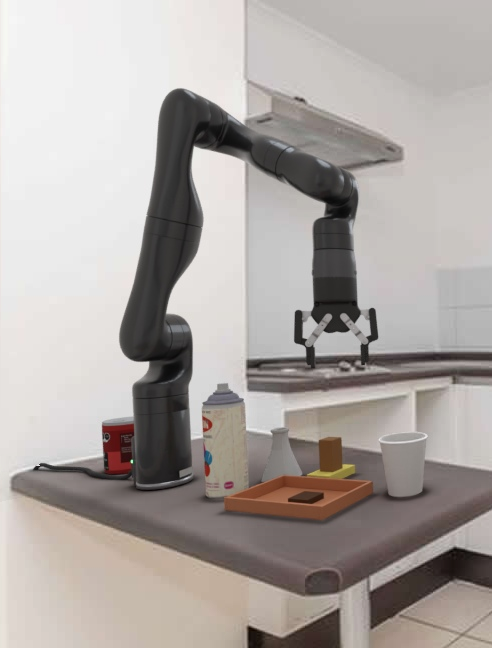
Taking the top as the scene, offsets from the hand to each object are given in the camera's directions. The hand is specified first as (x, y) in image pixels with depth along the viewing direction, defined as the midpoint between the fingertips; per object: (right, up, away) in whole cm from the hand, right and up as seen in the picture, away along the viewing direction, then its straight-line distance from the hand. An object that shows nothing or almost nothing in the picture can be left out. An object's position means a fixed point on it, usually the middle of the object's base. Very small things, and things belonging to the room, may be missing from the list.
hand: (338, 366), depth 99 cm
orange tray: (-4, -23, -7) cm, 24 cm away
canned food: (-53, -24, +20) cm, 61 cm away
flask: (-14, -23, +8) cm, 28 cm away
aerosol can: (-20, -23, 0) cm, 30 cm away
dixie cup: (+13, -22, -4) cm, 26 cm away
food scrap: (-3, -22, -7) cm, 23 cm away
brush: (-3, -22, +7) cm, 23 cm away
